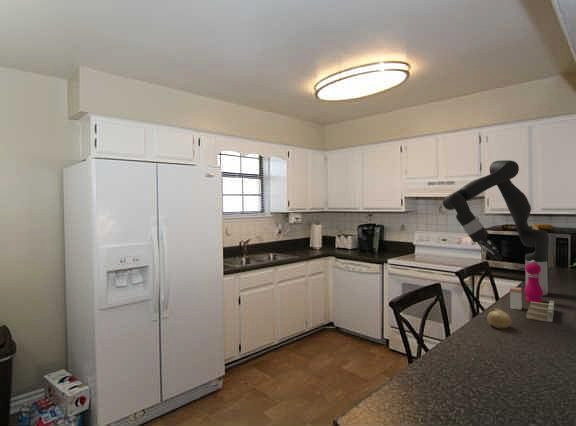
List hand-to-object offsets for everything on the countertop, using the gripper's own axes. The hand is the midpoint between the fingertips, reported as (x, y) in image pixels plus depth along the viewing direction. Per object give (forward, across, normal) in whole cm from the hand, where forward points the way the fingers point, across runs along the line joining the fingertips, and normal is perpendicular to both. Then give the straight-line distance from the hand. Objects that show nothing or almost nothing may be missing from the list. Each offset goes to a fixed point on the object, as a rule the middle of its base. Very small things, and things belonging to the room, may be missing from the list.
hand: (497, 259), depth 156 cm
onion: (+16, -24, +20) cm, 36 cm away
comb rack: (+26, -6, +1) cm, 27 cm away
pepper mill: (+28, +14, -5) cm, 32 cm away
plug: (+22, +2, +6) cm, 23 cm away
